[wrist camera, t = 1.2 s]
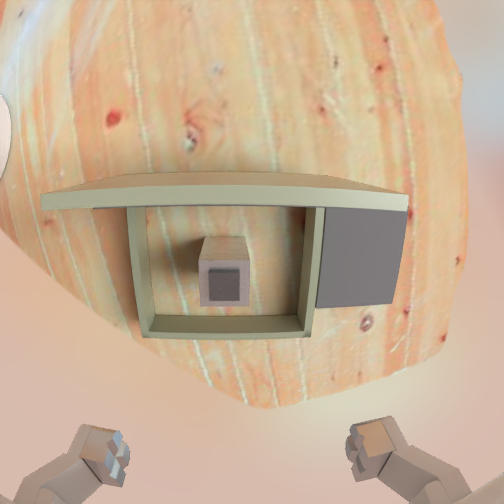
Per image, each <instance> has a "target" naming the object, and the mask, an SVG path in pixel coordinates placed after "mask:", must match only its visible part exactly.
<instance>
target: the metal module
mask: <svg viewBox="0 0 504 504" xmlns="http://www.w3.org/2000/svg"><path fill="white" fill-rule="evenodd" d="M198 265H199V288H200V306H249V282H250V258H249V253H248V248H247V243H246V238H245V237H205V239H204V243H203V246H202V249H201V253H200V256H199V260H198Z"/></svg>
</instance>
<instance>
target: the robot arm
mask: <svg viewBox="0 0 504 504" xmlns="http://www.w3.org/2000/svg"><path fill="white" fill-rule="evenodd" d="M10 142H11V119H10V113H9V109H8V106H7V103H6V101H5V100H4V98H3V97H2V96H1V95H0V178H1V176H2V174H3V171H4V169H5V166H6V162H7V159H8V154H9V149H10ZM350 433H351V435H350V436H348V437H347V440H346V448H345V449H346V455H347V457H348V460H350V461H351V462H353V463H354V464H353V466H352V468H351V469H352V472H353V475H354V478H355V481H356V482H359V481H363V480H367V479H372V478H375V477H378V479H379V480H380V481H382V482H383V483H384V484H386V485H387V486H388V487H390V488H391V489H392V490H394V491H395V492H397V493H398V494H399V495H400V496H402V497H403V498H405V499H406V500H407V501H409V502H410V503H409V504H504V472H503V473H501V474H500V475H499V476H497V477H496V478H494V479H493V480H491V481H490V482H488V483H487V484H485V485H484V486H482V487H480V488H479V489H477V490H476V491H474V492H471V490H470V488H469V487H468V484H467V483H466V481H465V479H464V477H463V476H462V474H461V472H460V471H459V469H458V468H456V467H454V466H452V465H450V464H448V463H446V462H444V461H442V460H440V459H438V458H436V457H434V456H432V455H430V454H428V453H426V452H424V451H422V450H420V449H418V448H417V447H415V446H413V445H412V446H409V445H408V444H407V441H406V440H405V438H404V436H403V434H402V432H401V430H400V429H399V427H398V425H397V423H396V421H395V420H394V418H393V417H392V416H387V417H383V418H379V419H374V420H369V421H365V422H361V423H357V424H353V425H352V426H351V428H350ZM122 438H123V436H122V434H121V432H120V431H117V430H111V429H105V428H100V427H96V426H91V425H86V424H82V425H81V426H80V427H79V429H78V431H77V433H76V435H75V438H74V440H73V442H72V444H71V446H70V448H69V451H68V453H67V454H62V455H61V456H59V457H57V458H56V459H54V460H53V461H51V462H49V463H48V464H46V465H44V466H43V467H41V468H40V469H38V470H36V471H35V472H33V473H31V474H30V475H28V476H26V477H25V478H24V479H23V481H22V483H21V485H20V487H19V489H18V491H17V494H16V496H15V498H14V500H13V501H11V500H9V499H7V498H6V497H4V496H2V495H1V494H0V504H81V503H82V502H83V501H85V500H86V499H87V498H88V497H89V496H90V495H91V494H93V493H94V492H95V491H96V490H97V489H98V488H99V487H100V486H101V485H102V484H107V485H112V486H117V487H122V486H123V482H124V479H125V475H126V474H125V472H124V470H123V469H124V468H125V467H126V466H128V463H129V460H130V451H129V447H128V445H127V443H125V442H124V441H122Z"/></svg>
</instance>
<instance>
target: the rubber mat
mask: <svg viewBox="0 0 504 504" xmlns="http://www.w3.org/2000/svg"><path fill="white" fill-rule="evenodd" d="M408 207H409V206H408ZM407 216H408V208H407V211H395V210H381V209H365V208H354V209H338V208H325V214H324V226H323V238H322V249H321V259H320V269H319V278H318V286H317V295H316V303H315V307H316V308H334V307H351V306H366V305H379V304H392V301H393V297H394V292H395V288H396V283H397V278H398V273H399V268H400V262H401V257H402V251H403V244H404V238H405V231H406V224H407Z"/></svg>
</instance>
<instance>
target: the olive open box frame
mask: <svg viewBox="0 0 504 504" xmlns="http://www.w3.org/2000/svg"><path fill="white" fill-rule="evenodd" d="M40 196H41V208H42V211H49V210H62V209H78V208H93V209H103V208H127V223H128V236H129V247H130V257H131V266H132V274H133V282H134V290H135V297H136V303H137V310H138V316H139V322H140V328H141V333H142V338H160V339H188V340H258V339H286V338H305V337H311V331H312V323H313V316H314V309H315V301H316V293H317V284H318V275H319V266H320V256H321V246H322V235H323V223H324V210H325V208H338V209H354V208H365V209H381V210H395V211H407V208H408V199H409V195H407V194H403V193H399V192H395V191H392V190H388V189H384V188H380V187H376V186H372V185H367V184H363V183H359V182H355V181H350V180H346V179H341V178H336V177H332V176H327V175H312V174H294V173H269V172H173V173H148V174H130V175H122V176H117V177H112V178H107V179H102V180H98V181H93V182H89V183H84V184H80V185H76V186H72V187H68V188H64V189H60V190H56V191H52V192H48V193H45V194H41V195H40ZM159 206H280V207H306V216H305V231H304V245H303V258H302V269H301V281H300V291H299V302H298V311H297V315H274V316H172V315H155V309H154V301H153V293H152V284H151V275H150V264H149V253H148V240H147V225H146V207H159Z"/></svg>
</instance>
